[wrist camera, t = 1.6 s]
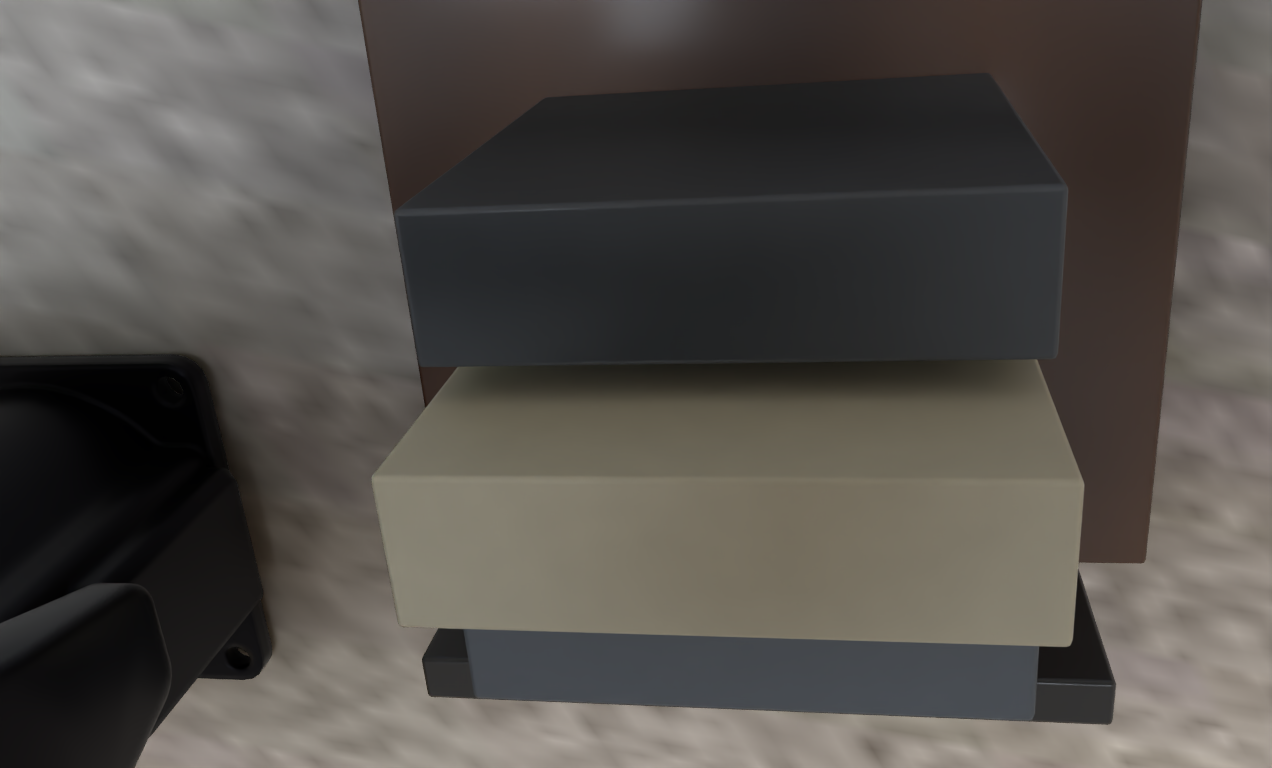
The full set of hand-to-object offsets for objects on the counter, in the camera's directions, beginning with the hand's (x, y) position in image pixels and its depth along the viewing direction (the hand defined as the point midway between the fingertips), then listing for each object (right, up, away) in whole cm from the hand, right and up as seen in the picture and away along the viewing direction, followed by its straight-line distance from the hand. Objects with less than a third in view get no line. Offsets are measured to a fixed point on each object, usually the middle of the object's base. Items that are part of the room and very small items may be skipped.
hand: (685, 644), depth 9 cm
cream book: (+1, +3, +8) cm, 9 cm away
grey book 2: (+1, +5, +7) cm, 9 cm away
